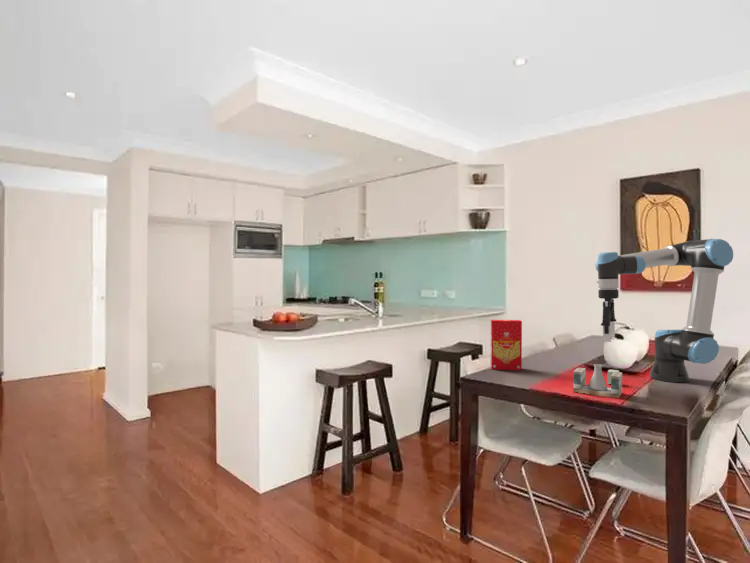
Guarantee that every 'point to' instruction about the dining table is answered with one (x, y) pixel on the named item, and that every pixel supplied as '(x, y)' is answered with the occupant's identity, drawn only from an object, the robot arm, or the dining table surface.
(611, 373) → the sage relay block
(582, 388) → the grey u-shaped holder
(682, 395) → the dining table surface
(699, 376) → the dining table surface
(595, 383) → the flask
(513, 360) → the food packaging
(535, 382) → the dining table surface
